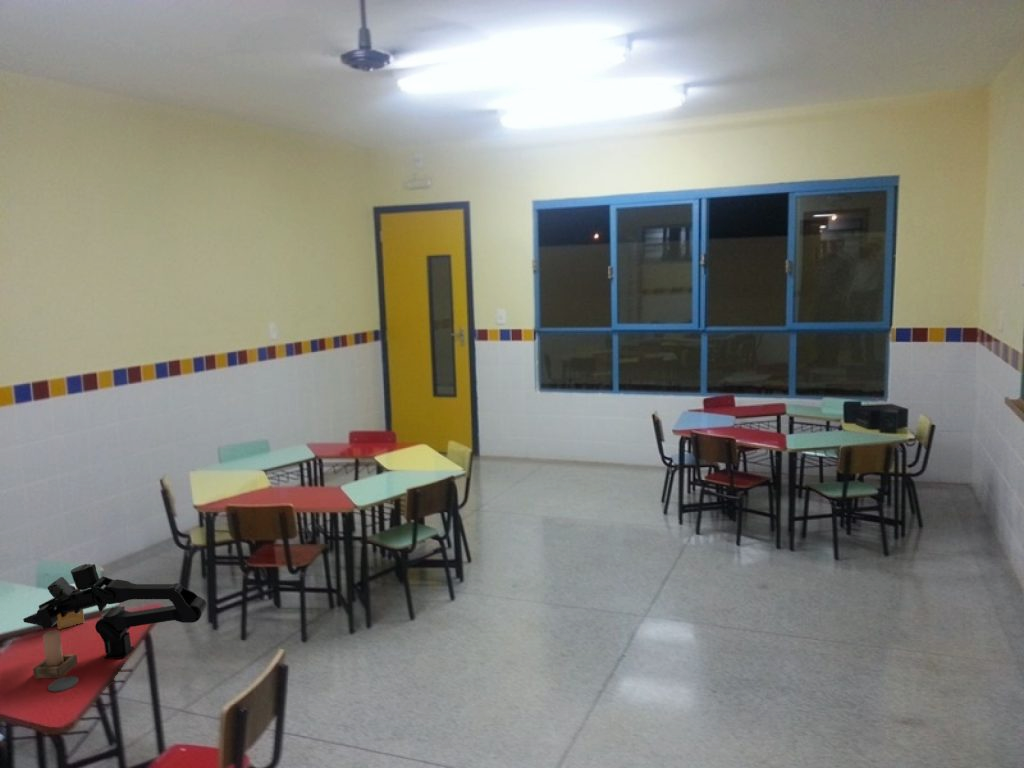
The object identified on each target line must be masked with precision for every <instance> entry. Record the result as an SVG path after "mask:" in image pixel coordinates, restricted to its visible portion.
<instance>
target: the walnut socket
mask: <svg viewBox="0 0 1024 768" xmlns="http://www.w3.org/2000/svg"><path fill="white" fill-rule="evenodd" d="M63 659H64V663H62V664H61V665H60V666H59V667H47V663H46V658H45V659H44V660H42V661H41V662H40V663H38V664H37V665H36V666H34V667H33V668H32V671H33V678H34V679H60V678H63V677H65V675H66V674H68V673H69V672H70V671H71V670H72V669H73V668H74V667H76V666H77V664H79V663H78V656H77V654H63ZM75 665H76V666H75Z"/></svg>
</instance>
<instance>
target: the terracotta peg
mask: <svg viewBox="0 0 1024 768" xmlns="http://www.w3.org/2000/svg"><path fill="white" fill-rule="evenodd" d="M42 639H43V649H44V655H45V659H46V663H47V667H59V666H60V665H61V664H62V663H64V659H63V655H64V654H63V652H64V651H63V645H62V638H61V632H60V630H59V629H58V630H50V631H47V632H45V633H43V635H42Z"/></svg>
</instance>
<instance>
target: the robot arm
mask: <svg viewBox="0 0 1024 768" xmlns="http://www.w3.org/2000/svg"><path fill="white" fill-rule="evenodd" d="M70 575H71V576H72V577H71V578H72V580H73V584H74V583H75V585H76V588H77V589H75V587H74V586H72V585H70V584H71V583H69V582H68V581H67V579H66V578H64V577H63V576H60V577H59V578H57V579H56V580H54V581H53V582H51V584H49V585H48V586H47V590H48V592H49V594H50V595H51V596H52V597H53V598H51V599H48V600H47V601H45V602H43V603H41V604H39V605H38V608H39V609H37V611H36V613H33V614H31V615H28V616H26V617H24V618H23V619H22V620H23V623H26V624H31V625H36V626H40V627H42V629H43V630H47V629H48V630H49V629H51V628H52V627H53V626H54V625H56V624H57V620H58V617H57V615H58V614H61V616H62V617H65V616H66V615H67V614H68V613H72V612H75V614H76V613H79V612H80V611H81V610H83V611H84V610H85V609H90V608H93V607H97V609H98V612H102V611H103V610H104V609H105V608H106V607H107V605H114V604H121V603H124V602H127V601H131V600H169V601H170V602H171V603H172V604H173V605H169V606H167V605H166V606H162V607H161V606H160V607H154V608H148V609H143V610H142V609H141V610H135V611H129V610H126V609H125V608H126V607H125V606H120V607H111V608H110V609H109V610H108V611H106V612H105V613H104V614H103V615H102V616H101V617H100V618H99V619H98V620H97V622H96V623H95V625H94V626H95V627H94V628H95V631H96V633H98V635H100V638H101V639H102V641H103V643H104V651H105V655H104V656H103V657H104V659H124V658H126V657H127V656H128V655H129V654H130V653H131V652H132V651H133V650H134V649H135V646H132V643H131V636H130V634H131V633H130V632H129V630H130V628H133V627H139V626H145V625H146V626H147V625H151V624H159V623H165V622H166V623H167V622H171V621H175V622H179V623H182V624H183V623H186V624H187V623H188V624H189V623H190V624H192V623H196V622H198V621H199V620H200V619H201V617H202V616H203V614H204V613H205V611H206V610H207V606H208V605H207V601H206V600H205V599H204V598H203V597H200V596H199V595H197V593H195V592H194V591H192V590H189V589H187V588H185V587H184V586H183V585H182V584H181V583H178V582H177V583H163V584H162V583H146V584H145V583H133V582H131V581H129V580H123V579H113V578H109V577H107V576H104V575H103V576H101V577H99V574H98V571H97V566H96V564H91V563H88V564H87V563H85V564H82V565H79V566H76V567H74V568H72V569H71V570H70ZM104 585H105V586H104ZM103 586H104V587H103ZM102 587H103V588H102ZM80 590H81V591H80Z"/></svg>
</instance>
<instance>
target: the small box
mask: <svg viewBox="0 0 1024 768" xmlns="http://www.w3.org/2000/svg"><path fill="white" fill-rule="evenodd" d="M69 584H70V585H72V586H74V587H75V589H77V588H76V585H75V583H74V582H73V583H69ZM80 591H82V590H80ZM84 616H85V615H84V609H83V610H81V611H80V612H79V613H76V614H75V612H72V613H68V614H67V615H66V616H65V617H62V616H61V614H58V615H57V617H58V620H57V622H56V624H57V625H56V626H57V629H58V630H60V629H64V628H68V627H69V628H70V627H73V625H74V626H77V625H76V624H78V625H81V624H80V623H83V622H84V623H85V617H84ZM84 623H83V624H84Z"/></svg>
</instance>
